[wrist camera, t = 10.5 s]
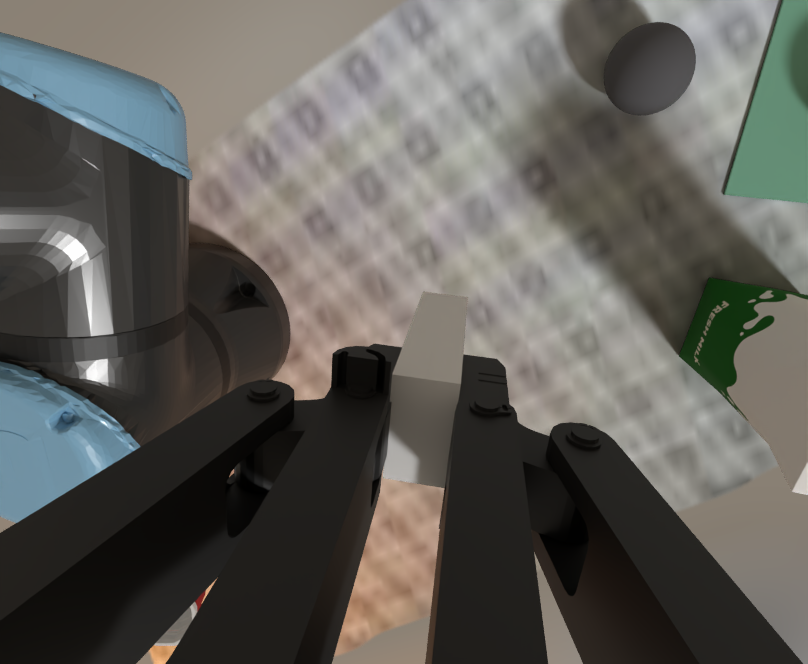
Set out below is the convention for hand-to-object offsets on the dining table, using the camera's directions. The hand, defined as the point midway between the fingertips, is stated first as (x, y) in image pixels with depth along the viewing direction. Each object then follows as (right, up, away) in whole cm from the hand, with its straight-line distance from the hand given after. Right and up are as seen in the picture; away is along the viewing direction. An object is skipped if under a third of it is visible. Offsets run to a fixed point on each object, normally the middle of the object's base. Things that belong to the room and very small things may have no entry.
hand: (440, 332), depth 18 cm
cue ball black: (+15, +17, +17) cm, 29 cm away
